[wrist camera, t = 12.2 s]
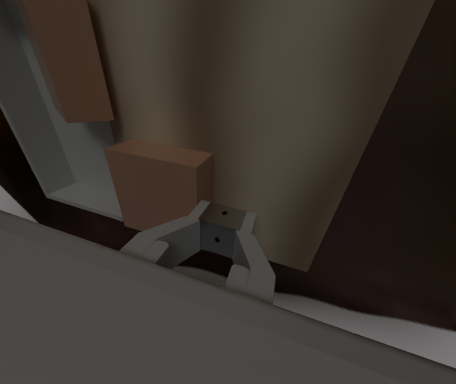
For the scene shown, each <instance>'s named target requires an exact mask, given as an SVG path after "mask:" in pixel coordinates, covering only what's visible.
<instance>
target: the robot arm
mask: <svg viewBox="0 0 456 384" xmlns="http://www.w3.org/2000/svg"><path fill="white" fill-rule="evenodd" d="M256 220H257V213H256V212H251V211H245V210H241V209H237V208H232V207H229V206H225V205H221V204H218V203H214V202H210V201H206V200H201V201H200V202H199V203H198V205H197V206H196V207H195V208H194V209H193V211H192V212H191V213H190V214H189V215H188V216H187V217H186V216H184V217H181V218H178V219H175V220H173V221H170V222H167V223H164V224H162V225H159V226H156V227H153V228H151V229H148V230H145V231H142V232H140V233H138V234H137V235H136V236H135V237H134V238H133V239H131V240H130V241H129V242H128V243H127V244H126V245H125V246H124V247H123V248H122V249H121V250H120V251H116V250H114V249H111V248H108V247H105V246H102V245H99V244H96V243H93V242H91V241H88V240H85V239H82V238H79V237H76V236H73V235H70V234H68V233H65V232H62V231H59V230H56V229H53V228H50V227H47V226H44V225H42V224H39V223H35V222H33V221H30V220H27V219H24V218H21V217H18V216H16V215H13V214H10V213H7V212H4V211H1V210H0V384H456V369H455V368H453V367H450V366H447V365H444V364H441V363H438V362H435V361H432V360H429V359H426V358H424V357H421V356H418V355H415V354H412V353H409V352H406V351H404V350H401V349H398V348H395V347H392V346H389V345H386V344H383V343H380V342H378V341H375V340H372V339H369V338H366V337H363V336H360V335H358V334H354V333H352V332H349V331H346V330H343V329H341V328H338V327H335V326H332V325H329V324H326V323H323V322H320V321H318V320H314V319H312V318H309V317H306V316H303V315H300V314H297V313H295V312H292V311H289V310H286V309H283V308H280V307H277V306H275V305H273V295H274V286H275V274H274V272H273V270H272V268H271V266H270V264H269V262H268V260H267V258H266V256H265V255H264V253H263V251H262V249H261V247H260V245H259V243H258V241H257V239H256V237H255V235H254V230H255V225H256ZM201 249H203V250H206V251H210V252H213V253H217V254H220V255H223V256H226V257H229V258H232V260H233V264H234V265H233V266H232V267H231V270H230V273H229V275H228V278H227V281H226V283H225V286H224V288H223V287H220V286H217V285H214V284H211V283H208V282H205V281H203V280H200V279H197V278H194V277H191V276H188V275H185V274H182V273H180V272H177V271H174V270H172V268H174V267H175V266H177V265H178V264H180V263H181V262H183V261H184V260H186V259H187V258H189V257H190V256H192V255H193V254H195V253H197V252H198V251H200V250H201Z"/></svg>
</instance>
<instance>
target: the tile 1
mask: <svg viewBox="0 0 456 384" xmlns="http://www.w3.org/2000/svg"><path fill="white" fill-rule="evenodd" d="M14 1H15V4H16V6H17V9H18V12H19V14H20V17H21V20H22V22H23V25H24V28H25V30H26V33H27V35H28V38H29V41H30V43H31V46H32V49H33V51H34V54H35V57H36V59H37V62H38V65H39V67H40V70H41V73H42V75H43V78H44V81H45V83H46V86H47V89H48V91H49V94H50V97H51V99H52V102H53V105H54V107H55V109H56V110H57V111H58V112H59V114H60V115H61V116H62V117H63V119H64V120H65V121H66V122H67V123H79V122H95V121H110V120H114V117H113V113H112V108H111V104H110V100H109V95H108V91H107V87H106V82H105V78H104V74H103V69H102V65H101V61H100V56H99V52H98V48H97V44H96V39H95V35H94V31H93V26H92V22H91V18H90V13H89V9H88V5H87V0H14Z"/></svg>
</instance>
